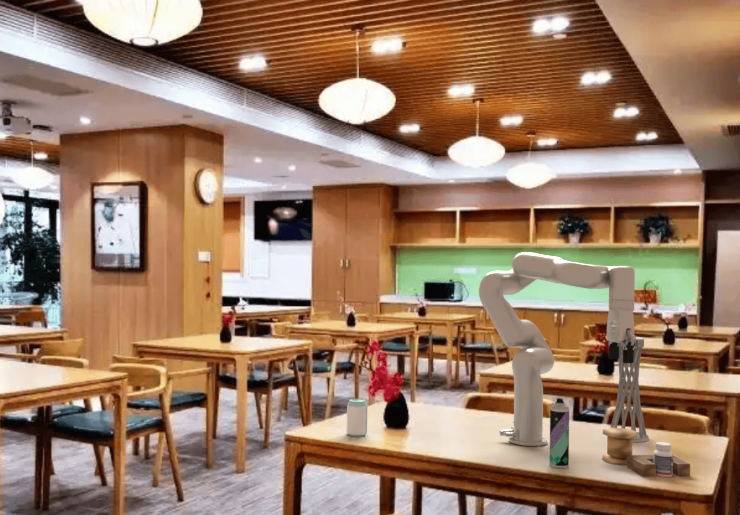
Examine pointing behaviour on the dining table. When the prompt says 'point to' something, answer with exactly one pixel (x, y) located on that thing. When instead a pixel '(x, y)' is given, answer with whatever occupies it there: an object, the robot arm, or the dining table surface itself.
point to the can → (357, 417)
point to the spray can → (559, 434)
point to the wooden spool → (618, 445)
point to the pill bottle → (663, 459)
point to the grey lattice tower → (634, 393)
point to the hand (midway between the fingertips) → (620, 360)
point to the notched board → (648, 468)
